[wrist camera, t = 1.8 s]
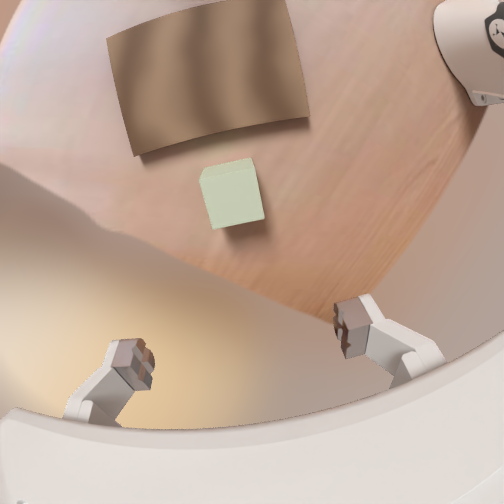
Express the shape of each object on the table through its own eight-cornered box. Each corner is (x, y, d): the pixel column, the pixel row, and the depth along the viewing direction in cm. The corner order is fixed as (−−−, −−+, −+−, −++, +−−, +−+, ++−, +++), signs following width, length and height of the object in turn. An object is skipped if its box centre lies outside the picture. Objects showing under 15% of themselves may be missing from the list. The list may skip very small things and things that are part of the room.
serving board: (280, -1, 18) (283, -6, 17) (306, 115, 25) (310, 116, 24) (111, 41, 18) (106, 38, 17) (138, 154, 26) (133, 156, 24)
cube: (250, 157, 27) (254, 167, 23) (259, 200, 30) (264, 218, 25) (204, 167, 27) (198, 180, 23) (215, 210, 30) (212, 229, 26)
